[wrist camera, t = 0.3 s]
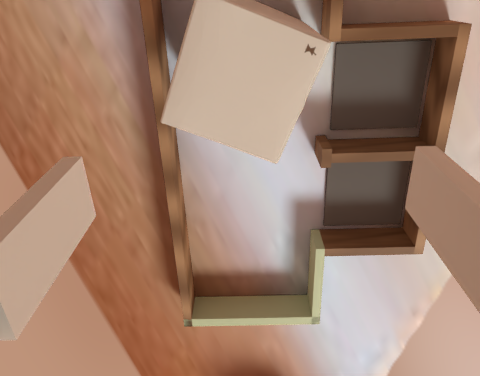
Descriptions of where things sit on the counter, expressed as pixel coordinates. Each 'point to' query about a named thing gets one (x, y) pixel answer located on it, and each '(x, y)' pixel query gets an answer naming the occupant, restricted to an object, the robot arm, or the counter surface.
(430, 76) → the lane
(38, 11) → the counter surface
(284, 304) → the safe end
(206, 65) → the supplement box
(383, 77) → the mats
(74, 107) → the counter surface
